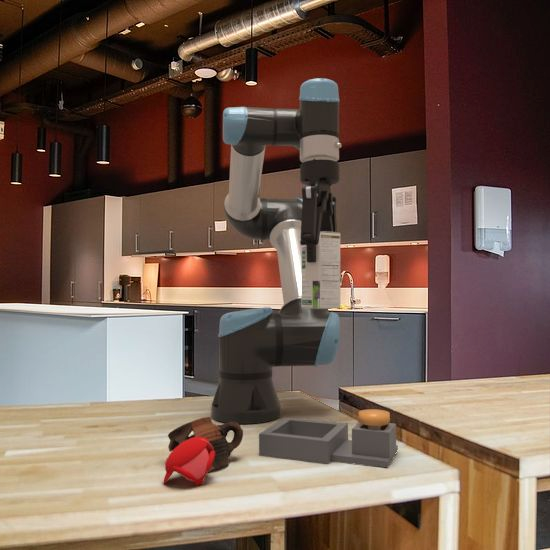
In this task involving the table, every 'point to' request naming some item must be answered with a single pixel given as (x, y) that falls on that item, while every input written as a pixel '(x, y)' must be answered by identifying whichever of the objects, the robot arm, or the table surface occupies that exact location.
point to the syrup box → (323, 275)
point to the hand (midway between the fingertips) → (320, 280)
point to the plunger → (374, 418)
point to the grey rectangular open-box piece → (329, 442)
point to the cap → (191, 460)
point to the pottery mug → (209, 438)
